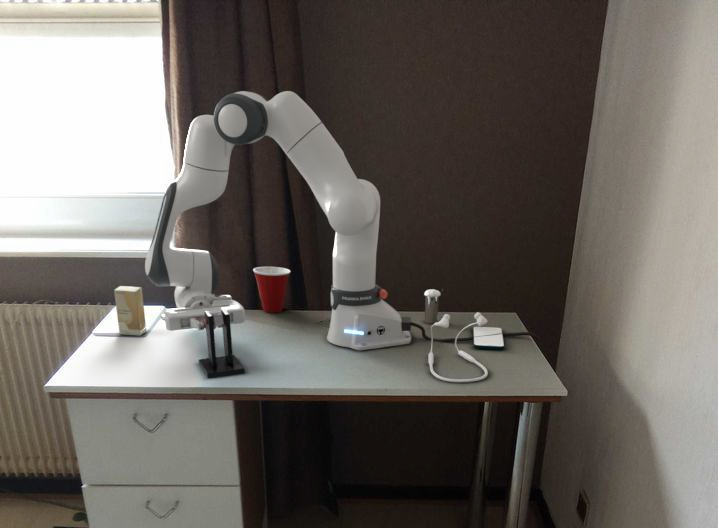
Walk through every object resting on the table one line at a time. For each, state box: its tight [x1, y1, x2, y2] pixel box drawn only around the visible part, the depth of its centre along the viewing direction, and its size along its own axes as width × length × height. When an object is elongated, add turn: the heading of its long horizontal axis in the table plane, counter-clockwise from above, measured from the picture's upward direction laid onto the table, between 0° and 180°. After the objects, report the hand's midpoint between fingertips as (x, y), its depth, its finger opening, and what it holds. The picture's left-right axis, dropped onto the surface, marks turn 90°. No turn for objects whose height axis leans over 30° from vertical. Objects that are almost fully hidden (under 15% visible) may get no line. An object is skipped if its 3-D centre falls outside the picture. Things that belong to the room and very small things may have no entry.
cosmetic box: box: [113, 285, 147, 337], centre depth 203 cm, size 6×4×12 cm
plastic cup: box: [252, 266, 291, 313], centre depth 221 cm, size 11×11×12 cm
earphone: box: [427, 311, 489, 384], centre depth 182 cm, size 14×17×18 cm
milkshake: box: [423, 287, 445, 325], centre depth 212 cm, size 5×5×10 cm
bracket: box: [198, 309, 246, 379], centre depth 180 cm, size 10×9×14 cm
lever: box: [203, 314, 224, 330], centre depth 182 cm, size 13×4×4 cm, turn 21°
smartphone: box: [472, 326, 505, 350], centre depth 202 cm, size 8×1×16 cm
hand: (211, 325), depth 186 cm, fingers closed on lever, 3 cm apart
